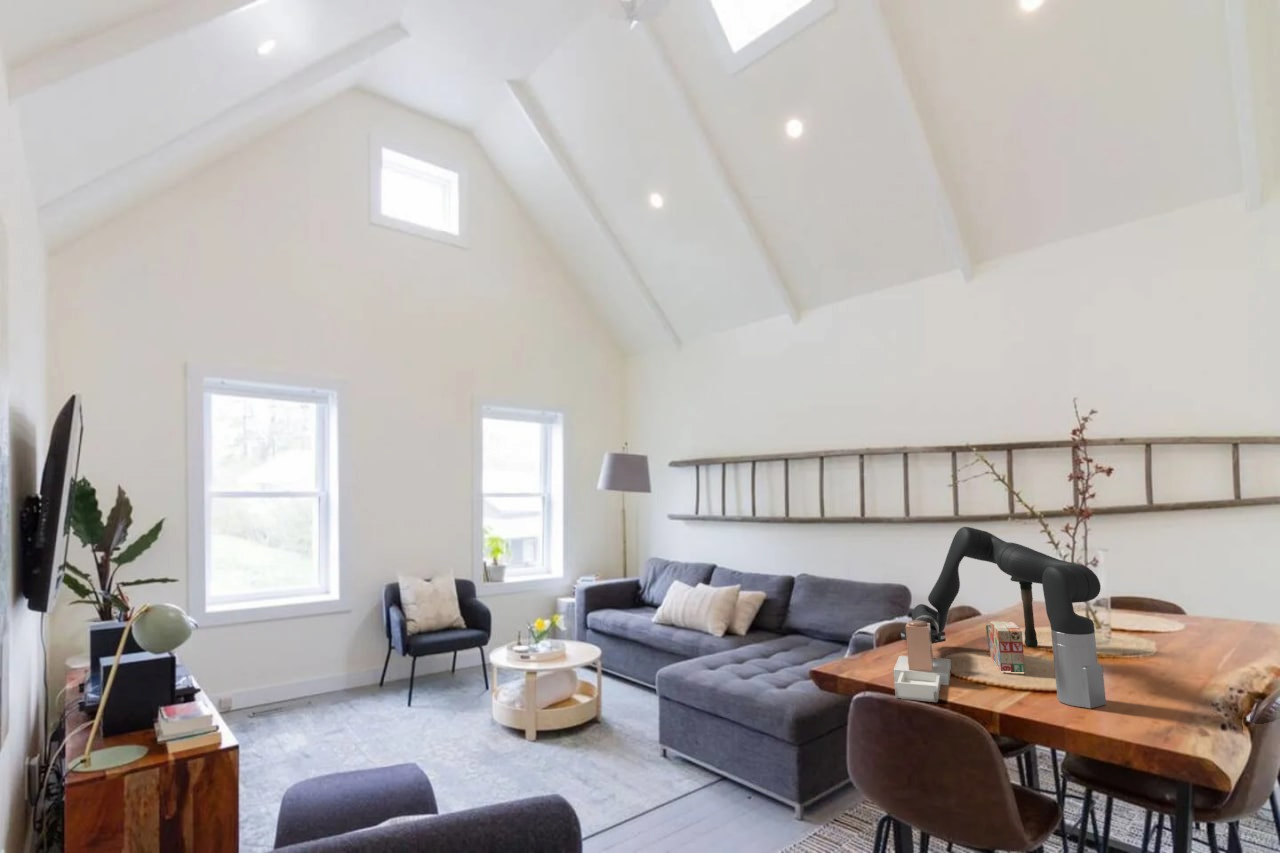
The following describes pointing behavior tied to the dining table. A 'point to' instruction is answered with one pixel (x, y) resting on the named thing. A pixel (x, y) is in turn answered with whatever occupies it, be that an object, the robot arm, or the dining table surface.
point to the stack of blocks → (1006, 646)
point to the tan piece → (919, 646)
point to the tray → (917, 689)
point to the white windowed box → (939, 668)
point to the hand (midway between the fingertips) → (920, 642)
